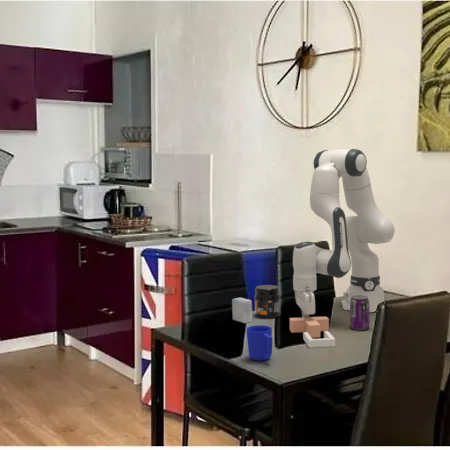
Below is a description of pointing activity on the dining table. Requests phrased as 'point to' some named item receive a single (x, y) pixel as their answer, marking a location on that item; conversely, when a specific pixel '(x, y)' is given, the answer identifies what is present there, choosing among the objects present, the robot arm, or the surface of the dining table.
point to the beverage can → (359, 312)
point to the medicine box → (242, 310)
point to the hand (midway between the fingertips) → (305, 320)
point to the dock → (319, 340)
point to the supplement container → (267, 301)
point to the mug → (259, 342)
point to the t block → (309, 325)
